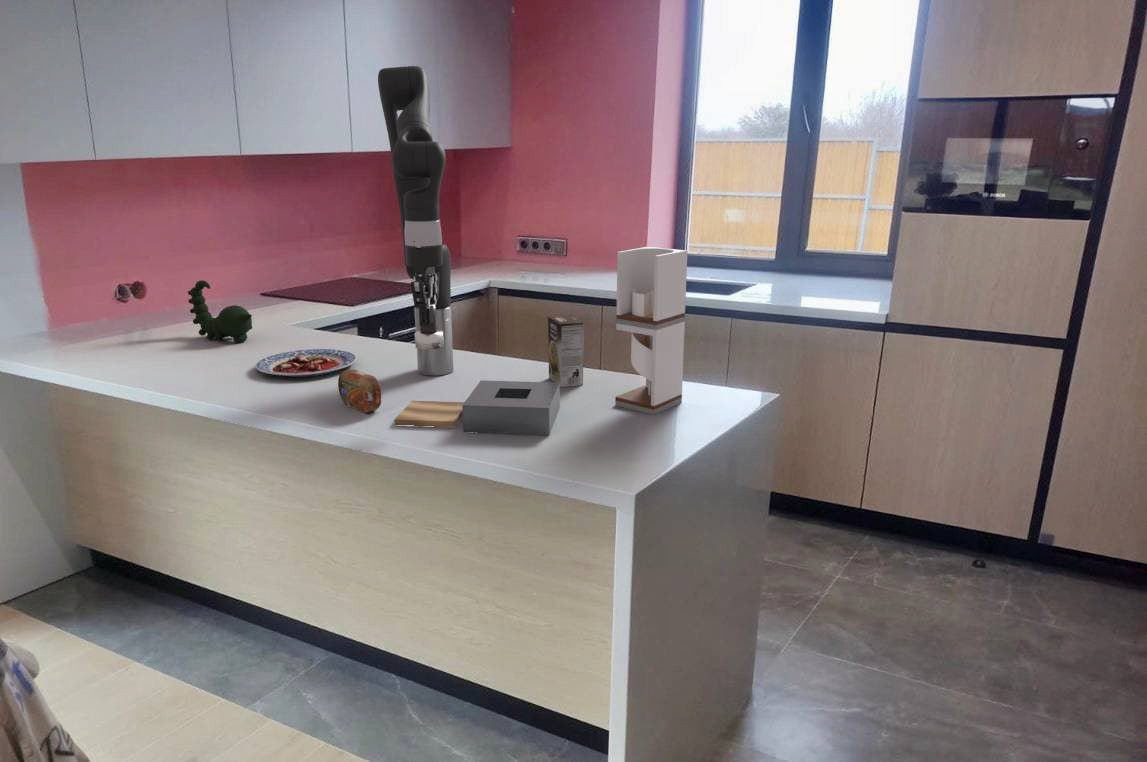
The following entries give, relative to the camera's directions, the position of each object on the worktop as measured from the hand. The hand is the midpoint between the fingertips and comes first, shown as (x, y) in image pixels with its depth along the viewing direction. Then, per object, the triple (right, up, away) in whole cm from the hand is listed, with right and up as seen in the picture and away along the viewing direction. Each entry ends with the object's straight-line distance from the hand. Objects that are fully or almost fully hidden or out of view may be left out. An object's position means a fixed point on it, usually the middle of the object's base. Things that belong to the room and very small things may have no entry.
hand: (427, 323), depth 172 cm
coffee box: (+29, -13, +32) cm, 45 cm away
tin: (-17, -19, +13) cm, 28 cm away
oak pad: (0, -20, +6) cm, 21 cm away
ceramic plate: (-40, -9, +45) cm, 61 cm away
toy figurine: (-75, 0, +75) cm, 106 cm away
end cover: (0, -5, +1) cm, 5 cm away
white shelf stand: (+48, -18, +15) cm, 53 cm away
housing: (+18, -21, +4) cm, 28 cm away
